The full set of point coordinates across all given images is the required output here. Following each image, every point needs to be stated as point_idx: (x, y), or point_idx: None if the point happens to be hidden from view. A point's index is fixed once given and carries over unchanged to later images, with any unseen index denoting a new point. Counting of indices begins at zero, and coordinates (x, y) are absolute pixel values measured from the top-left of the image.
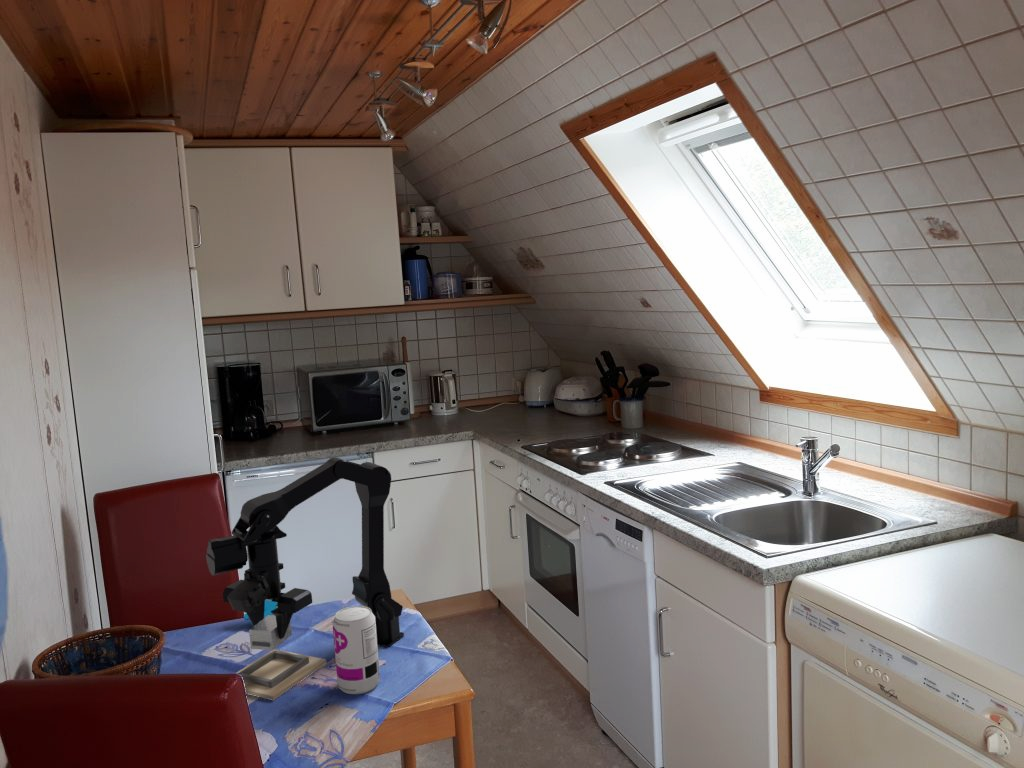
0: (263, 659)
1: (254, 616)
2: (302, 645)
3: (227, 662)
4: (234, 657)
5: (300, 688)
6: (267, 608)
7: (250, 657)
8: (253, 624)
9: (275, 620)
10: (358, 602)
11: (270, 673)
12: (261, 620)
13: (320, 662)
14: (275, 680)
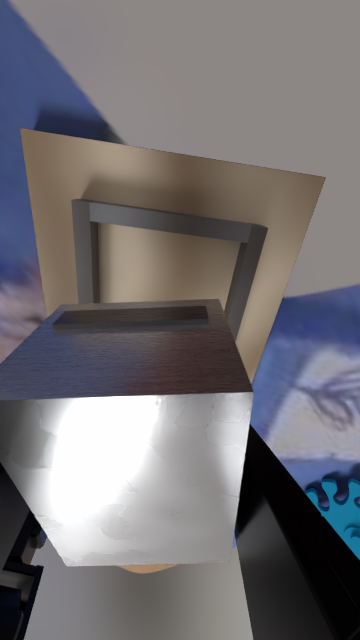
0: None
1: (290, 573)
2: None
3: (356, 341)
4: (345, 367)
5: (19, 252)
6: (343, 531)
7: (296, 375)
8: (279, 473)
9: (120, 530)
10: (11, 607)
11: (163, 295)
12: (233, 518)
13: None
14: (74, 225)
